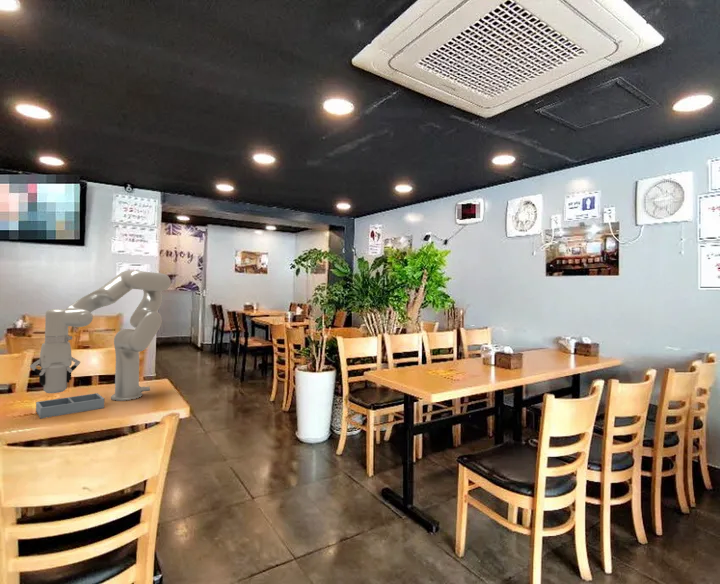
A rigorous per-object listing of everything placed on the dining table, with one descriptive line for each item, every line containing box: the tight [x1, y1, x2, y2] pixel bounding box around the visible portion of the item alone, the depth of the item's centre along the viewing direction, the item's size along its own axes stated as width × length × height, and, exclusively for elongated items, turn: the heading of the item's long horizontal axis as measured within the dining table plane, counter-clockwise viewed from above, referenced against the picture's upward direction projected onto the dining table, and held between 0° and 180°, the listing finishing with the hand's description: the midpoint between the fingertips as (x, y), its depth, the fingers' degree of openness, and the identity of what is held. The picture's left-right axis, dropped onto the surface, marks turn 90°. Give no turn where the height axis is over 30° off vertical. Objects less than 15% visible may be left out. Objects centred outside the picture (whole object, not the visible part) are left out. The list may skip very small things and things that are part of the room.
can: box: [43, 363, 68, 394], centre depth 165 cm, size 8×8×12 cm
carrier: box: [35, 392, 105, 419], centre depth 169 cm, size 21×11×4 cm, turn 135°
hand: (55, 383), depth 165 cm, fingers closed on can, 7 cm apart
